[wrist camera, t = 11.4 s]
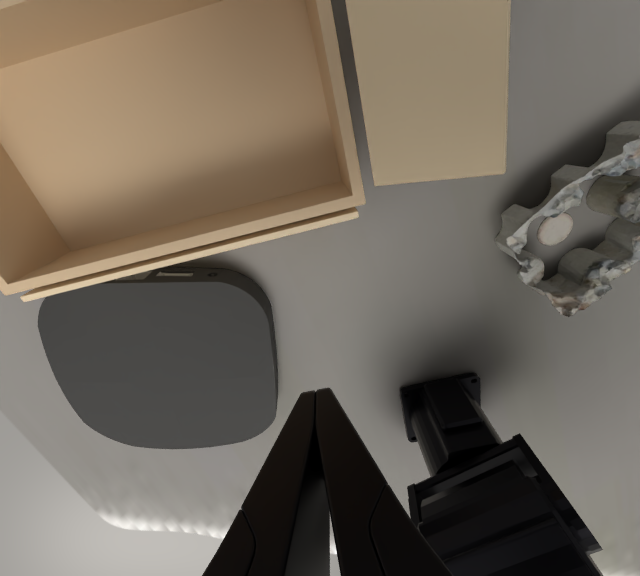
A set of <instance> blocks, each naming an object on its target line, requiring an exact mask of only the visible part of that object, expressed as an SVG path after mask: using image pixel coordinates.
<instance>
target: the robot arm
mask: <svg viewBox="0 0 640 576" xmlns="http://www.w3.org/2000/svg"><path fill="white" fill-rule="evenodd" d="M405 393H407V394H405ZM400 398H401V404H402V410H403V416H404V421H405V427H406V433H407V437H408V440H409V441H410V442H417V441H418V444H419V446H420V449H421V452H422V454H423V457H424V460H425V462H426V465H427V468H428V471H429V473H430V476H431V477H430V478H428V479H426V480H424V481H421V482H419V483H417V484H412V485H410V486H408V487H407V489H408V496H409V499H408V501H409V508H410V516H411V519H410V517H409V516H408V514H407V513H406V511H405V510H404V508H403V506H402V505H401V503H400V502H399V500H398V499H397V497H396V495H395V494H394V492H393V491H392V489H391V487H390V486H389V485H388V483H387V481H386V479H385V478H384V476H383V474H382V473H381V471H380V469H379V468H378V466H377V464H376V463H375V461H374V459H373V458H372V456H371V454H370V453H369V451H368V450H367V448H366V446H365V445H364V443H363V441H362V440H361V438H360V436H359V435H358V433H357V431H356V430H355V428H354V426H353V425H352V423H351V421H350V420H349V418H348V416H347V415H346V413H345V412H344V410H343V408H342V407H341V405H340V403H339V402H338V400H337V398H336V397H335V395H334V393H333V392H332V390H331V389H330V388H323V389H318V390H317V391H316V392H315V391H308V392H303V393H301V394H300V396H299V398H298V400H297V402H296V404H295V406H294V408H293V409H292V411H291V413H290V415H289V417H288V419H287V421H286V423H285V425H284V427H283V428H282V430H281V432H280V434H279V436H278V438H277V440H276V442H275V444H274V446H273V447H272V449H271V451H270V453H269V455H268V457H267V459H266V461H265V463H264V465H263V466H262V468H261V470H260V472H259V474H258V476H257V478H256V480H255V482H254V484H253V485H252V487H251V489H250V491H249V493H248V495H247V497H246V499H245V501H244V503H243V504H242V506H241V509H242V510H239V512H238V514H237V516H236V517H235V519H234V521H233V523H232V525H231V527H230V529H229V531H228V532H227V534H226V536H225V538H224V540H223V541H222V543H221V545H220V547H219V549H218V550H217V552H216V554H215V555H214V557H213V559H212V560H211V562H210V563H209V565H208V567H207V568H206V570H205V572H204V573H203V575H202V576H330V515H331V521H332V527H333V533H334V538H335V544H336V550H337V556H338V562H339V567H340V573H341V576H603V574H602V573H601V571H600V570H599V569H598V567H597V566H596V564H595V563H594V561H593V560H592V558H591V557H590V554H592V553H595V552H598V551H601V550H603V549H602V548H601V546H600V545H599V543H598V542H597V540H596V539H595V538H594V536H593V535H592V533H591V532H590V531H589V529H588V528H587V526H586V525H585V523H584V522H583V521H582V519H581V518H580V516H579V515H578V514H577V512H576V511H575V509H574V508H573V507H572V505H571V504H570V502H569V501H568V500H567V498H566V497H565V495H564V494H563V493H562V491H561V490H560V488H559V487H558V486H557V484H556V483H555V481H554V480H553V479H552V477H551V476H550V475H549V473H548V472H547V470H546V469H545V468H544V466H543V465H542V464H541V462H540V461H539V459H538V458H537V457H536V455H535V454H534V452H533V451H532V450H531V448H530V447H529V446H528V444H527V443H526V441H525V440H524V439H523V437H522V436H521V434H520V433H519V434H517V435H515V436H513V439H510V440H508V441H506V442H504V443H503V442H502V440H501V439H500V437H499V436H498V434H497V432H496V431H495V429H494V428H493V426H492V425H491V423H490V422H489V420H488V418H487V417H486V415H485V414H484V412H483V411H482V409H481V408H480V378H479V376H478V375H477V374H476V373H469V374H464V375H460V376H455V377H450V378H446V379H441V380H436V381H432V382H427V383H422V384H418V385H413V386H408V387H404V388H402V389H401V390H400Z"/></svg>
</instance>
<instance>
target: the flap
mask: <svg viewBox="0 0 640 576" xmlns="http://www.w3.org/2000/svg"><path fill="white" fill-rule="evenodd" d="M345 1H346V8H347V14H348V20H349V27H350V33H351V39H352V46H353V52H354V59H355V65H356V71H357V78H358V84H359V90H360V97H361V103H362V110H363V116H364V122H365V129H366V135H367V141H368V148H369V154H370V161H371V167H372V173H373V180H374V186H381V185H392V184H403V183H413V182H424V181H435V180H446V179H456V178H467V177H478V176H488V175H499V174H504V173H505V172H506V150H507V115H508V81H509V46H510V11H511V0H345Z"/></svg>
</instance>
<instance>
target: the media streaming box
mask: <svg viewBox="0 0 640 576" xmlns="http://www.w3.org/2000/svg"><path fill="white" fill-rule="evenodd" d="M38 328H39V332H40V336H41V340H42V343H43V346H44V349H45V352H46V355H47V358H48V361H49V363H50V366H51V368H52V371H53V373H54V375H55V378H56V380H57V382H58V384H59V386H60V387H61V389H62V391H63V393H64V395H65V396H66V398H67V400H68V401H69V403H70V404H71V406H72V407H73V409H74V410H75V412H76V413H77V414H78V416H79V417H80V418H81V419H82V421H83V422H84V423H85V424H87V425H88V426H89V427H91V428H92V429H94V430H95V431H97V432H98V433H100V434H102V435H104V436H106V437H108V438H110V439H113V440H115V441H118V442H121V443H124V444H127V445H131V446H136V447H145V448H158V449H191V448H204V447H214V446H221V445H227V444H233V443H238V442H243V441H246V440H249V439H251V438H253V437H255V436H257V435H259V434H261V433H262V432H263V431H265V430H266V429H267V428H268V427H269V426H270V425H271V424H272V423H273V421H274V419H275V417H276V409H277V399H278V368H277V352H276V340H275V331H274V323H273V316H272V309H271V305H270V302H269V300H268V298H267V296H266V295H265V293H264V292H263V291H262V289H261V288H260V287H259V286H258V285H257V284H256V283H254V282H253V281H252V280H250V279H249V278H247V277H246V276H244V275H242V274H240V273H237V272H234V271H231V270H227V269H218V268H157V269H153V270H149V271H145V272H141V273H137V274H133V275H129V276H126V277H122V278H118V279H114V280H110V281H106V282H102V283H98V284H94V285H90V286H86V287H82V288H78V289H74V290H70V291H66V292H62V293H58V294H54V295H50V296H47V297H46V298H45V300H44V301H43V303H42V305H41V307H40V311H39V315H38Z"/></svg>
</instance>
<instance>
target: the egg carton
mask: <svg viewBox="0 0 640 576" xmlns="http://www.w3.org/2000/svg"><path fill="white" fill-rule="evenodd" d="M639 166H640V121H624V122H620V123H619V124H618V125H616V126H615V127H614V128H612V129H611V130H610V131H609V132H608V133H607V134H606V145H605V149H604V152H603V154H602V156H601V157H600V158H599V160H598V161H597V162H596V163H594V164H593V165H591V166H590V167H580V166H573V165H567V164H566V165H564V166H563V167H561V168H560V169H559V170H558V171H556V172H555V173H554V174H553V175H552V176H551V189H550V192H549V194H548V196H547V197H546V199H545V200H544V201H543V202H542V203H541V204H540V205H538V206H536V207H534V208H531V209H527V208H524V207H522V206H519V205H517V204H514V205H512V206H511V207H509V208H508V209H507V210H505V211H504V212H503V213H502V214H501V218H502V221H503V225H502V229H501V231H500V233H499V234H498V236H497V237H496V238H495V242H496V244H497V245H498V248H499V249H500V250H502V251H503V252H505V253H507V254H508V255H510V256H512V257H513V258H515V259H516V260H517V262H518V263H519V264H520V265H521V266H522V268H521V269H520V270H519V271H518V272H517V275H518V277H519V278H520V280H521V281H522V282H523V283H525V284H526V285H528V286H529V287H531V288H532V289H534V290H535V291H537V292H538V293H539V294H541V295H547V296H548V298H549V299H550V300H551V302H552V305H553V306H554V307H555V308H556V309H557V311H558V312H559V313H560V314H561V315H565V316H568V317H569V316H572V315H574V314H575V313H576V311H577V310H585V309H586V308H587V307H589V306H590V305H591V303H592V302H594V301H596V300H599V299H601V298H602V296H603V295H605V294H606V292H607V291H608V290H610V289H612V288H611V286H610V283H609V282H610V281H611V280H613V279H615V278H617V277H618V276H620V275H623V274H626V273H627V272H629V271H630V270H631V266H632V265H633V264H635V263H636V262H637V261H639V260H640V177H639V176H630V175H622V174H623V173H624V172H625V171H627V170H631V169H637V168H638V167H639ZM596 173H598V174H600V175H604V176H602V177H601V178H599V179H598V180H597V181H595V183H594V184H593V185H592V186H591V188H590V190H589V192H588V195H587V198H586V201H587V205H588V207H589V208H590V209H592V210H593V211H597V212H601V213H604V214H607V215H611V216H615V217H618V218H617V219H616V220H614V221H613V222H612V223H611V225H610V226H609V227H608V229H607V231H606V234H605V240H604V241H603V242H602V243H600V244H599V245H598V246H597V247H596V248H595V249H593V250H589V249H586V248H576V249H573V250H571V251H569V252H568V253H566V254H565V255H564V256H563V258H562V259H561V260H560V262H559V265H558V273H557V274H556V275H555V276H553V277H552V278H550V279H549V280H546V281H542V280H541V279H542V277H543V276H544V263H543V261H542V260H541V259H540V258H539V257H537V256H535V255H533V254H531V253H529V252H527V251H525V250H523V249H522V247H523V246H525V245H526V243H527V239H526V237H527V228H528V226H529V224H530V223H531V222H532V220H534V219H535V218H537V217H539V216H544V217H547V218H546V219H545V220H544V221H543V222H542V223H541V225H540V227H539V229H538V232H537V238H538V240H539V242H540V243H541V244H544V245H547V246H550V245H555V244H558V243H560V242H562V241H563V240H564V239H566V237H567V236H568V235H569V233H570V231H571V229H572V226H573V220H572V217H571V216H570V215H569V214H567V213H564V211H566V210H567V209H569V208H570V207H574V206H578V207H579V205H580V203H581V199H582V196H583V193H584V192H583V190H582V189H581V188H580V187H579V183H581V182H582V181H584V180H590V179H593V178H594V177H595V176H597V175H598V174H596Z"/></svg>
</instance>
